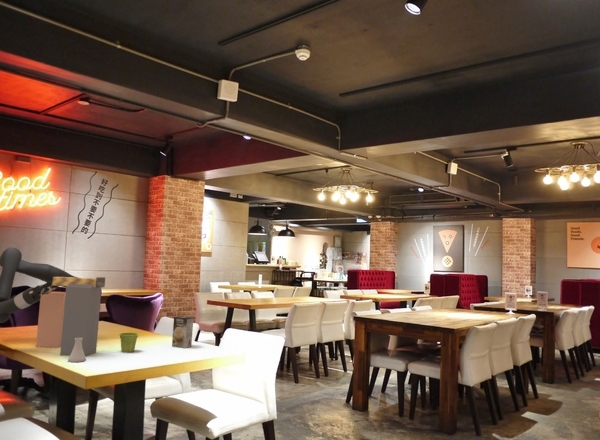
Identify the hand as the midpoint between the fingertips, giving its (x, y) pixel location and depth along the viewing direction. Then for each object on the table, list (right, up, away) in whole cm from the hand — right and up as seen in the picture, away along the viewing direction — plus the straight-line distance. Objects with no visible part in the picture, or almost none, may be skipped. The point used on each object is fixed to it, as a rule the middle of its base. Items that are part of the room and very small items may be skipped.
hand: (56, 282), depth 238 cm
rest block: (-9, -34, +14) cm, 38 cm away
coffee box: (+55, -39, +27) cm, 72 cm away
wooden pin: (+11, -2, -1) cm, 11 cm away
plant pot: (+32, -36, +7) cm, 49 cm away
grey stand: (+13, -34, -4) cm, 36 cm away
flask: (+19, -33, -20) cm, 43 cm away
